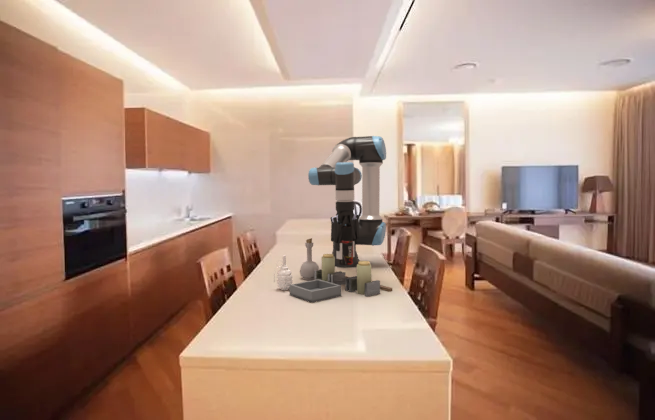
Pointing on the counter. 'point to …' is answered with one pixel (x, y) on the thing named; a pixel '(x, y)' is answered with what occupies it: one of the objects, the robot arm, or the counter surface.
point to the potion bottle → (308, 263)
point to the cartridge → (327, 265)
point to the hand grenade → (284, 276)
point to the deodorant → (347, 246)
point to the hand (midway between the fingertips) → (345, 257)
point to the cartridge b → (363, 275)
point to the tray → (315, 290)
